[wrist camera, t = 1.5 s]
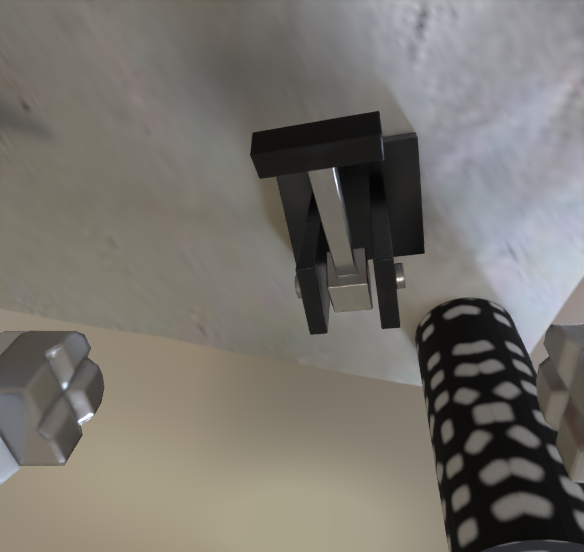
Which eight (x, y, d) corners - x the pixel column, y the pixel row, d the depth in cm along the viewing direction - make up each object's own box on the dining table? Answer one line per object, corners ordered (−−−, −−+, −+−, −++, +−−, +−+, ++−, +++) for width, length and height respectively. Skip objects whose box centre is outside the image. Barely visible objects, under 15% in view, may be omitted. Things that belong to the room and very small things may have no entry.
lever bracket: (275, 154, 35) (237, 235, 24) (415, 132, 33) (444, 209, 22) (298, 260, 39) (275, 368, 28) (423, 246, 37) (449, 356, 26)
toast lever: (252, 123, 19) (248, 165, 18) (378, 101, 18) (383, 144, 17) (310, 280, 29) (310, 315, 28) (394, 271, 28) (398, 307, 27)
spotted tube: (396, 348, 43) (422, 588, 26) (454, 282, 39) (529, 519, 22) (472, 385, 44) (543, 636, 27) (537, 325, 40) (667, 580, 23)
